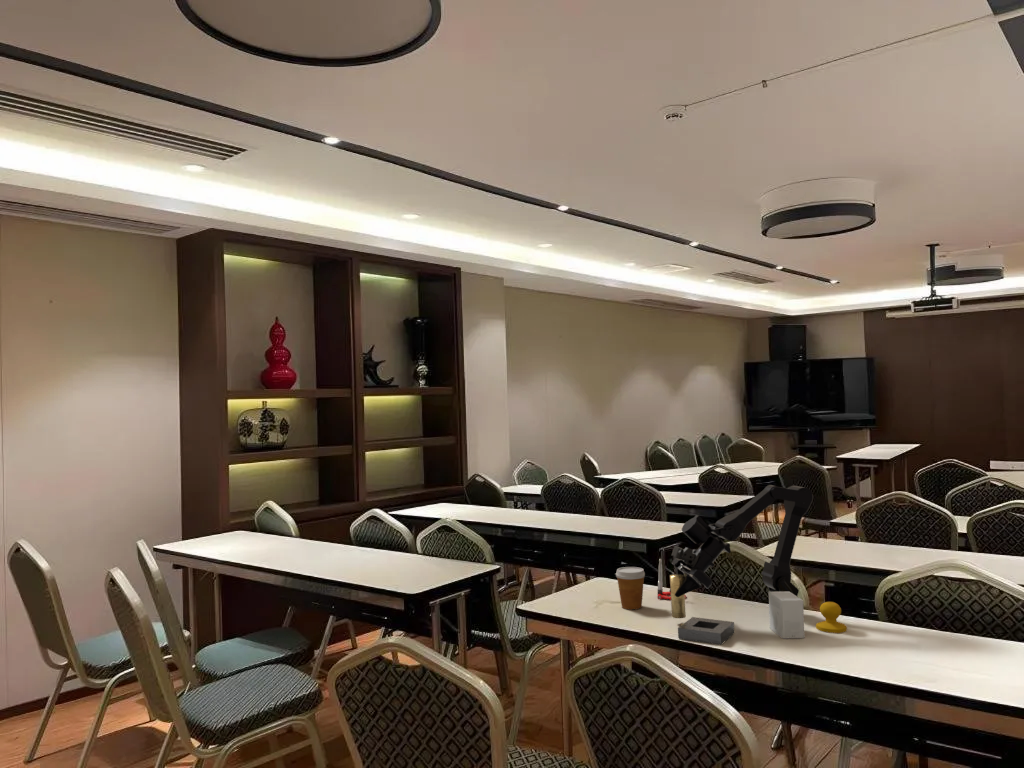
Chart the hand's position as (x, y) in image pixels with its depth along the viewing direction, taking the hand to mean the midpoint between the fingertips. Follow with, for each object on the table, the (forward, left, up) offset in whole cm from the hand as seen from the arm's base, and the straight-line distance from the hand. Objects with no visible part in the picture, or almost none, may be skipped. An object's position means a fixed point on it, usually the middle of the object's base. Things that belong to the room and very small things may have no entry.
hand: (673, 594), depth 225 cm
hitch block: (-12, +7, -9) cm, 17 cm away
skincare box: (-31, -5, -9) cm, 33 cm away
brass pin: (-1, -1, -7) cm, 7 cm away
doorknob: (-41, -14, -9) cm, 44 cm away
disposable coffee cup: (+19, -12, -9) cm, 24 cm away
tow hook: (+12, -29, -9) cm, 33 cm away
